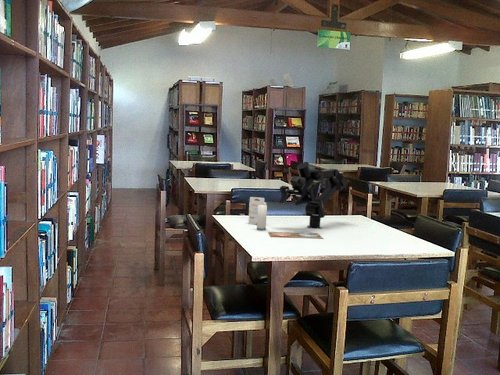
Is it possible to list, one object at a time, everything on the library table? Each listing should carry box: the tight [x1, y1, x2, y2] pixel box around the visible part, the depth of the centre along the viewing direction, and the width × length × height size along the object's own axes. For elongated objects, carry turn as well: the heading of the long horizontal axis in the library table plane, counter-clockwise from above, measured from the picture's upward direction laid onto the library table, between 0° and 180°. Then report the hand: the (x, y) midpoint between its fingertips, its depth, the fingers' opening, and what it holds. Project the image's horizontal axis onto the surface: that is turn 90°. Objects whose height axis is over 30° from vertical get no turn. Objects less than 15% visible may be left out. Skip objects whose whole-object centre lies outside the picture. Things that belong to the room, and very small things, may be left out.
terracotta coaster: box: [272, 231, 291, 237], centre depth 245 cm, size 9×9×1 cm
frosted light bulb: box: [256, 204, 268, 232], centre depth 254 cm, size 4×4×13 cm
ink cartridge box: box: [247, 196, 267, 226], centre depth 274 cm, size 9×5×15 cm, turn 74°
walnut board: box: [267, 231, 324, 240], centre depth 245 cm, size 13×25×1 cm, turn 95°
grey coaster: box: [299, 232, 318, 239], centre depth 246 cm, size 9×9×1 cm
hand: (287, 203), depth 251 cm, fingers open, 9 cm apart
